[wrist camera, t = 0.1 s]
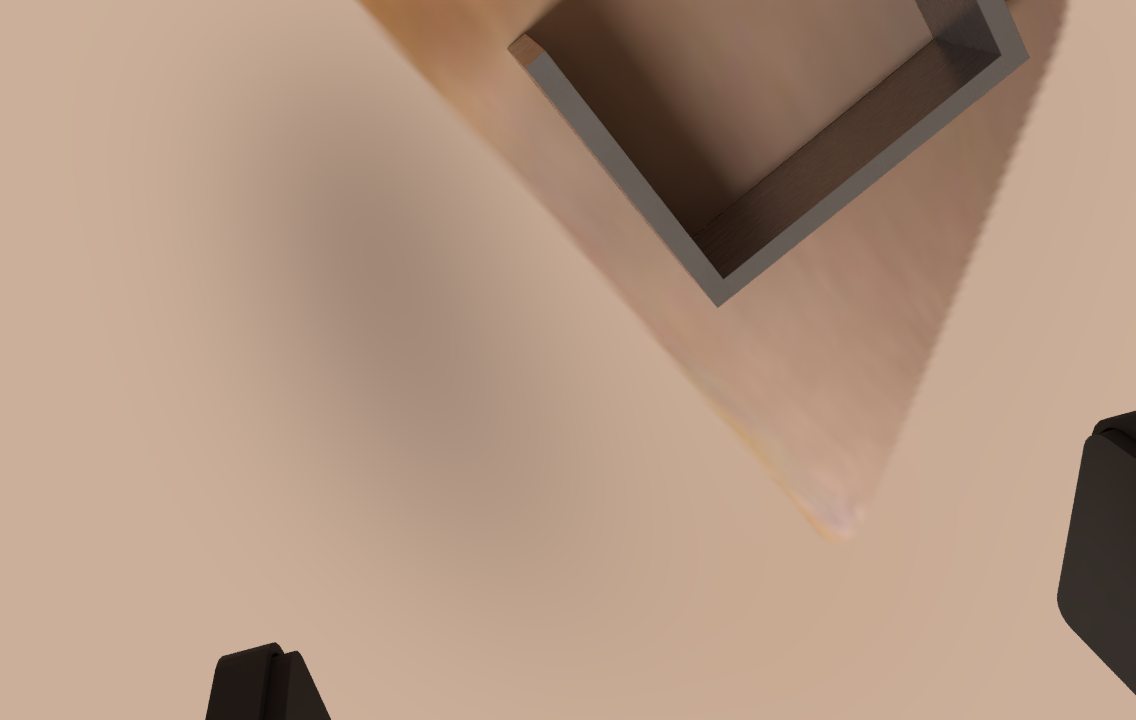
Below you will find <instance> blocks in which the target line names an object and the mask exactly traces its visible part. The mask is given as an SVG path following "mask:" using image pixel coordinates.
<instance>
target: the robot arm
mask: <svg viewBox="0 0 1136 720" xmlns="http://www.w3.org/2000/svg"><path fill="white" fill-rule="evenodd" d="M1057 602H1058V607H1059V609H1060V612H1061V614H1062V616H1063V618H1064V619H1065V621H1066V623H1067V624H1068V625H1069V626H1070V627H1071V628H1072V630H1073V631H1074V632H1075V633H1076V634H1077V635H1078V636H1079V637H1080V638H1081V639H1082V640H1083V641H1084V642H1085V643H1086V644H1087V645H1088V646H1089V647H1090V648H1091V649H1092V650H1093V651H1094V652H1095V653H1096V654H1097V656H1099V658H1100V659H1101V660H1102V661H1103V662H1104V663H1105V664H1106V665H1107V666H1108V667H1109V668H1110V669H1111V670H1112V671H1113V672H1114V673H1115V674H1116V675H1117V676H1118V677H1119V678H1120V679H1121V680H1122V681H1123V682H1124V683H1125V684H1126V685H1127V687H1129V689H1130V690H1131V691H1132V692H1133V693H1134V694H1135V695H1136V411H1133V412H1129V413H1125V414H1122V415H1118V416H1114V417H1111V418H1107V419H1104V420H1101V421H1099V422H1098V423H1097V425H1095V427H1094V430H1093V433H1092V436H1090V437H1088V439H1087V440H1086V441H1085V444H1084V448H1083V454H1082V459H1081V465H1080V470H1079V476H1078V482H1077V488H1076V493H1075V498H1074V504H1073V509H1072V515H1071V521H1070V527H1069V532H1068V537H1067V543H1066V548H1065V554H1064V560H1063V565H1062V571H1061V576H1060V582H1059V587H1058V593H1057ZM205 720H331V718H330V716H329V714H328V712H327V710H326V707H325V705H324V703H323V701H322V699H321V697H320V694H319V692H318V690H317V688H316V686H315V684H314V681H313V679H312V677H311V675H310V673H309V671H308V668H307V666H306V664H305V662H304V660H303V658H302V656H301V654H300V653H299V652H298V651H293V652H289V653H286V654H284V652H283V650H282V649H281V647H280V646H279V645H278V644H277V643H270V644H266V645H263V646H259V647H255V648H252V649H248V650H244V651H241V652H237V653H233V654H229V655H225V656H222V657H221V658H220V659H219V661H218V663H217V666H216V669H215V674H214V679H213V684H212V689H211V694H210V700H209V704H208V709H207V714H206V719H205Z"/></svg>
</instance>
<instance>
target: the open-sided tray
mask: <svg viewBox="0 0 1136 720" xmlns="http://www.w3.org/2000/svg"><path fill="white" fill-rule="evenodd" d="M915 1H916V3H917V5H918V7H919V9H920V11H921V13H922V15H923V17H924V19H925V21H926V23H927V25H928V27H929V29H930V31H931V33H932V35H933V37H934V40H933V41H932V42H930V43H929V44H928V45H927V46H925V47H924V48H923V49H922V50H921V51H919V52H918V53H917V54H916V55H915V56H913V57H912V58H911V59H910V60H908V61H907V62H906V63H905V64H904V65H902V66H901V67H900V68H899V69H897V70H896V71H895V72H894V73H893V74H891V75H890V76H889V77H888V78H887V79H885V80H884V81H883V82H882V83H880V84H879V85H878V86H877V87H876V88H874V89H873V90H872V91H871V92H869V93H868V94H867V95H866V96H865V97H863V98H862V99H861V100H860V101H859V102H857V103H856V104H855V105H854V106H852V107H851V108H850V109H849V110H848V111H846V112H845V113H844V114H843V115H842V116H840V117H839V118H838V119H837V120H835V121H834V122H833V123H832V124H831V125H829V126H828V127H827V128H826V129H824V130H823V131H822V132H821V133H820V134H818V135H817V136H816V137H815V138H814V139H812V140H811V141H810V142H809V143H807V144H806V145H805V146H804V147H803V148H801V149H800V150H799V151H798V152H797V153H795V154H794V155H793V156H792V157H790V158H789V159H788V160H787V161H786V162H784V163H783V164H782V165H781V166H779V167H778V168H777V169H776V170H775V171H773V172H772V173H771V174H770V175H769V176H767V177H766V178H765V179H764V180H762V181H761V182H760V183H759V184H758V185H756V186H755V187H754V188H753V189H752V190H750V191H749V192H748V193H747V194H745V195H744V196H743V197H742V198H741V199H739V200H738V201H737V202H736V203H734V204H733V205H732V206H731V207H730V208H728V209H727V210H726V211H725V212H724V213H722V214H721V215H720V216H719V217H717V218H716V219H715V220H714V221H713V222H711V223H710V224H709V225H708V226H706V227H705V228H704V229H703V230H702V231H700V232H699V233H698V234H697V235H696V236H694V237H693V238H692V239H691V237H690V236H689V235H688V233H687V232H686V231H685V230H684V228H683V227H682V226H681V224H680V223H679V222H678V221H677V219H676V218H675V217H674V215H673V214H672V213H671V212H670V210H669V209H668V208H667V206H666V205H665V204H664V203H663V201H662V200H661V199H660V197H659V196H658V195H657V194H656V192H655V191H654V190H653V188H652V187H651V186H650V185H649V183H648V182H647V181H646V179H645V178H644V177H643V176H642V174H641V173H640V172H639V170H638V169H637V168H636V167H635V165H634V164H633V163H632V161H631V160H630V159H629V158H628V156H627V155H626V154H625V152H624V151H623V150H622V149H621V147H620V146H619V145H618V143H617V142H616V141H615V140H614V138H613V137H612V136H611V134H610V133H609V132H608V131H607V129H606V128H605V127H604V125H603V124H602V123H601V122H600V120H599V119H598V118H597V116H596V115H595V114H594V113H593V111H592V110H591V109H590V107H589V106H588V105H587V104H586V102H585V101H584V100H583V98H582V97H581V96H580V95H579V93H578V92H577V91H576V89H575V88H574V87H573V86H572V84H571V83H570V82H569V80H568V79H567V78H566V77H565V75H564V74H563V73H562V71H561V70H560V69H559V68H558V66H557V65H556V64H555V63H554V61H553V60H552V59H551V57H550V56H549V55H548V54H547V52H546V51H545V50H544V49H543V48H542V47H540V46H539V45H538V44H537V43H536V42H534V41H533V40H532V39H531V38H530V37H529V36H527V35H526V34H525V33H524V34H523V35H522V36H521V37H519V38H518V39H517V40H516V41H515V42H514V43H513V44H512V45H511V46H510V47H508V48H507V49H508V51H509V52H510V53H511V54H512V56H513V57H514V58H515V59H516V61H517V62H518V63H519V64H520V66H521V67H522V68H523V69H524V71H525V72H526V73H527V74H528V76H529V77H530V78H531V79H532V81H533V82H534V83H535V84H536V86H537V87H538V88H539V89H540V90H541V92H542V93H543V94H544V95H545V97H546V98H547V99H548V100H549V102H550V103H551V104H552V105H553V107H554V108H555V109H556V110H557V112H558V113H559V114H560V115H561V117H562V118H563V119H564V120H565V122H566V123H567V124H568V125H569V127H570V128H571V129H572V130H573V132H574V133H575V134H576V135H577V136H578V138H579V139H580V140H581V141H582V143H583V144H584V145H585V146H586V148H587V149H588V150H589V151H590V153H591V154H592V155H593V156H594V158H595V159H596V160H597V161H598V163H599V164H600V165H601V166H602V168H603V169H604V170H605V171H606V173H607V174H608V175H609V176H610V178H611V179H612V180H613V181H614V182H615V184H616V185H617V186H618V187H619V189H620V190H621V191H622V192H623V194H624V195H625V196H626V197H627V199H628V200H629V201H630V202H631V204H632V205H633V206H634V207H635V209H636V210H637V211H638V212H639V214H640V215H641V216H642V217H643V219H644V220H645V221H646V222H647V224H648V225H649V226H650V227H651V228H652V230H653V231H654V232H655V233H656V235H657V236H658V237H659V238H660V240H661V241H662V242H663V243H664V245H665V246H666V247H667V248H668V250H669V251H670V252H671V253H672V255H673V256H674V257H675V258H676V260H677V261H678V262H679V263H680V265H681V266H682V267H683V268H684V269H685V271H686V272H687V273H688V274H689V275H690V276H691V278H692V279H693V280H694V281H695V282H696V283H697V285H698V286H699V287H700V288H701V289H702V290H703V292H704V293H705V294H706V295H707V296H708V297H709V298H710V300H711V301H712V302H713V303H714V304H715V305H716V307H717V308H718V307H719V306H721V305H722V304H723V303H724V302H726V301H727V300H728V299H729V298H731V297H732V296H733V295H734V294H736V293H737V292H738V291H739V290H741V289H742V288H743V287H744V286H746V285H747V284H748V283H749V282H751V281H752V280H753V279H754V278H756V277H757V276H758V275H759V274H761V273H762V272H763V271H764V270H766V269H767V268H768V267H769V266H771V265H772V264H773V263H774V262H776V261H777V260H778V259H779V258H781V257H782V256H783V255H784V254H786V253H787V252H788V251H789V250H791V249H792V248H793V247H794V246H796V245H797V244H798V243H799V242H801V241H802V240H803V239H804V238H806V237H807V236H808V235H809V234H811V233H812V232H813V231H814V230H816V229H817V228H818V227H819V226H821V225H822V224H823V223H824V222H826V221H827V220H828V219H829V218H831V217H832V216H833V215H834V214H836V213H837V212H838V211H839V210H841V209H842V208H843V207H844V206H846V205H847V204H848V203H849V202H851V201H852V200H853V199H854V198H856V197H857V196H858V195H859V194H861V193H862V192H863V191H864V190H866V189H867V188H868V187H869V186H871V185H872V184H873V183H874V182H876V181H877V180H878V179H879V178H881V177H882V176H883V175H884V174H886V173H887V172H888V171H889V170H891V169H892V168H893V167H894V166H896V165H897V164H898V163H899V162H901V161H902V160H903V159H904V158H906V157H907V156H908V155H909V154H911V153H912V152H913V151H914V150H916V149H917V148H918V147H919V146H920V145H922V144H923V143H924V142H925V141H927V140H928V139H929V138H930V137H932V136H933V135H934V134H935V133H937V132H938V131H939V130H940V129H942V128H943V127H944V126H945V125H947V124H948V123H949V122H950V121H952V120H953V119H954V118H955V117H957V116H958V115H959V114H960V113H962V112H963V111H964V110H965V109H967V108H968V107H969V106H970V105H972V104H973V103H974V102H975V101H977V100H978V99H979V98H980V97H982V96H983V95H984V94H985V93H987V92H988V91H989V90H990V89H992V88H993V87H994V86H995V85H997V84H998V83H999V82H1000V81H1002V80H1003V79H1004V78H1005V77H1007V76H1008V75H1009V74H1010V73H1012V72H1013V71H1014V70H1015V69H1017V68H1018V67H1019V66H1020V65H1022V64H1023V63H1024V62H1025V61H1027V60H1028V59H1029V58H1030V57H1029V55H1028V53H1027V50H1026V48H1025V46H1024V44H1023V41H1022V39H1021V37H1020V34H1019V32H1018V30H1017V28H1016V25H1015V23H1014V21H1013V18H1012V16H1011V14H1010V12H1009V9H1008V7H1007V5H1006V2H1005V0H915Z"/></svg>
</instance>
